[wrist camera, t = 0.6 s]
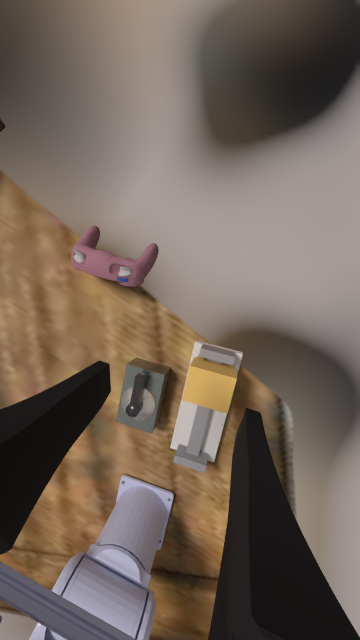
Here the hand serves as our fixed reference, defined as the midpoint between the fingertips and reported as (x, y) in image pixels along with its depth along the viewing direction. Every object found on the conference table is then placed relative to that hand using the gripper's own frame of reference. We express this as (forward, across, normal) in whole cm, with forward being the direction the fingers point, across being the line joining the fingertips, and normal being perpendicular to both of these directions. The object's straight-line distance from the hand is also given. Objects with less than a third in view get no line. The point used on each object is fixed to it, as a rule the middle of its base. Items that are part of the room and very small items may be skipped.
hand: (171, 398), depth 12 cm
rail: (+15, -1, +16) cm, 21 cm away
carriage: (+15, -1, +11) cm, 19 cm away
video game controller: (+20, +14, +1) cm, 25 cm away
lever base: (+14, +7, +16) cm, 23 cm away
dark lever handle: (+11, +7, +14) cm, 19 cm away
